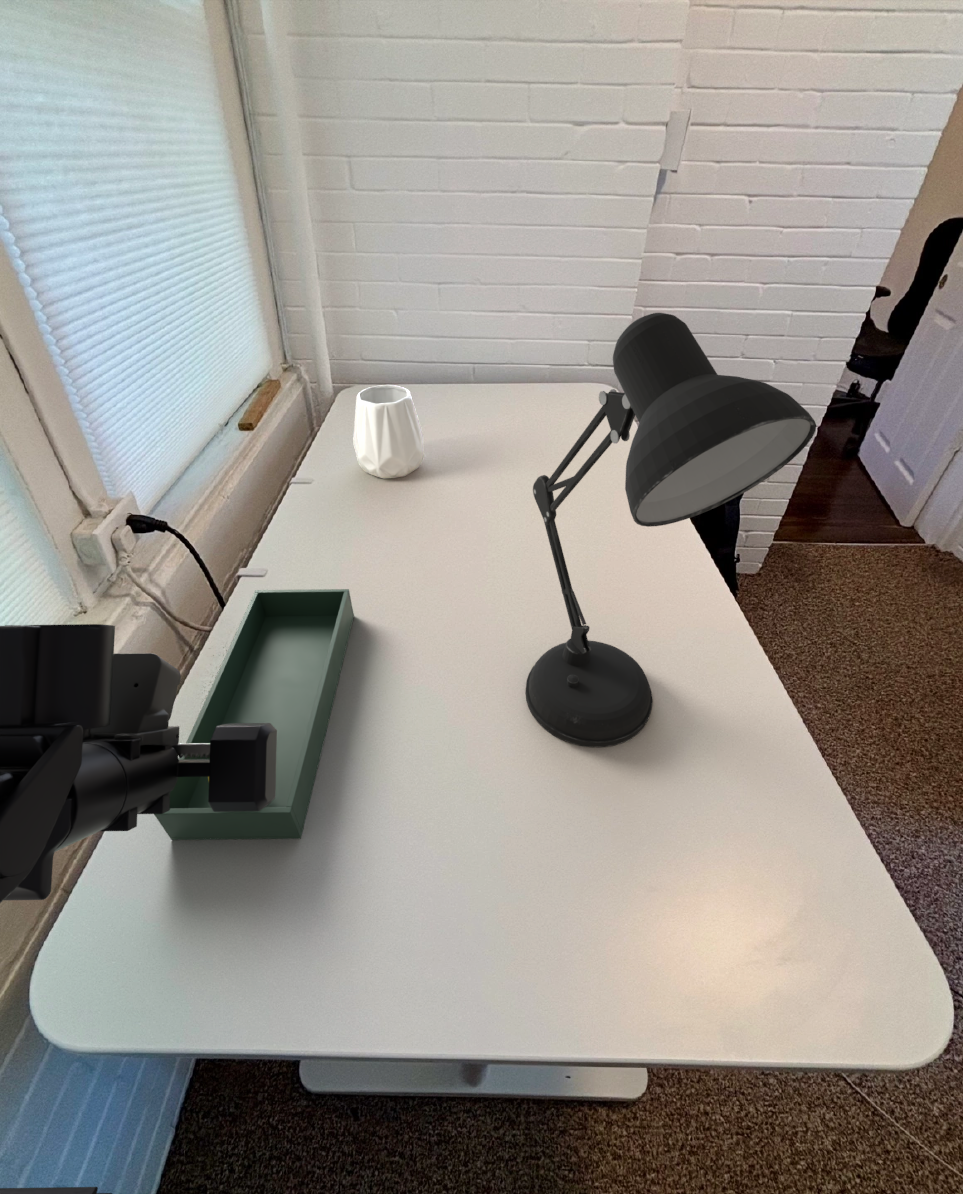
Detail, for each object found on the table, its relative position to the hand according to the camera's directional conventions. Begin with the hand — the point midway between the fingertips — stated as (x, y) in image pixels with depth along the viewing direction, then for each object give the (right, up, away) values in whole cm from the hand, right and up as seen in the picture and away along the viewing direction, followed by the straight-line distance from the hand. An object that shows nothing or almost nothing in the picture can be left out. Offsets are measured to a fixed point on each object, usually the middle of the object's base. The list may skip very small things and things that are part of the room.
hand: (199, 749), depth 53 cm
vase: (+7, +40, +69) cm, 81 cm away
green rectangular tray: (0, 0, +21) cm, 21 cm away
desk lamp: (+39, 0, +21) cm, 44 cm away
